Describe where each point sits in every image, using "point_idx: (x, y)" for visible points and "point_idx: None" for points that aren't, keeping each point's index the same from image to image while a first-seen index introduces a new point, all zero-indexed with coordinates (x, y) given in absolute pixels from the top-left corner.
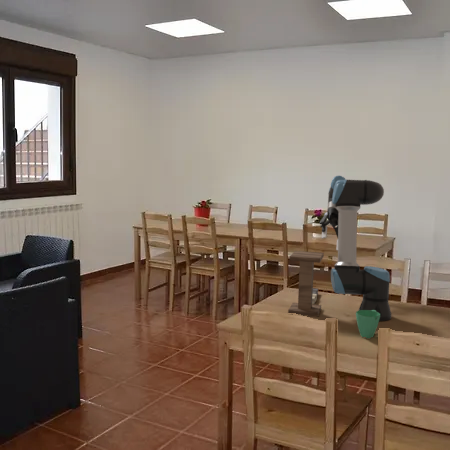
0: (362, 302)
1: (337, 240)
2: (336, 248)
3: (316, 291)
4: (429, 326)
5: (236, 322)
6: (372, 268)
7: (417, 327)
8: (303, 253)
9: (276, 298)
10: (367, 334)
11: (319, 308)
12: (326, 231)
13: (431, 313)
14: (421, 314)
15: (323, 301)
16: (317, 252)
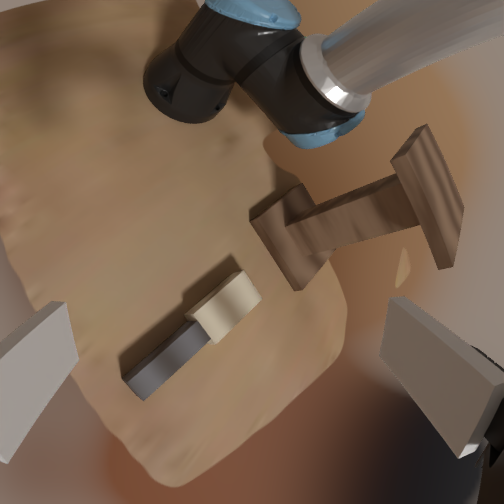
0: (230, 89)
1: (9, 444)
2: (71, 367)
3: (163, 350)
4: (155, 4)
5: (398, 266)
6: (280, 6)
7: (179, 17)
8: (446, 207)
9: (283, 388)
10: None
11: (280, 201)
12: (444, 332)
13: (50, 16)
14: (75, 25)
15: (180, 280)
16: (418, 178)
